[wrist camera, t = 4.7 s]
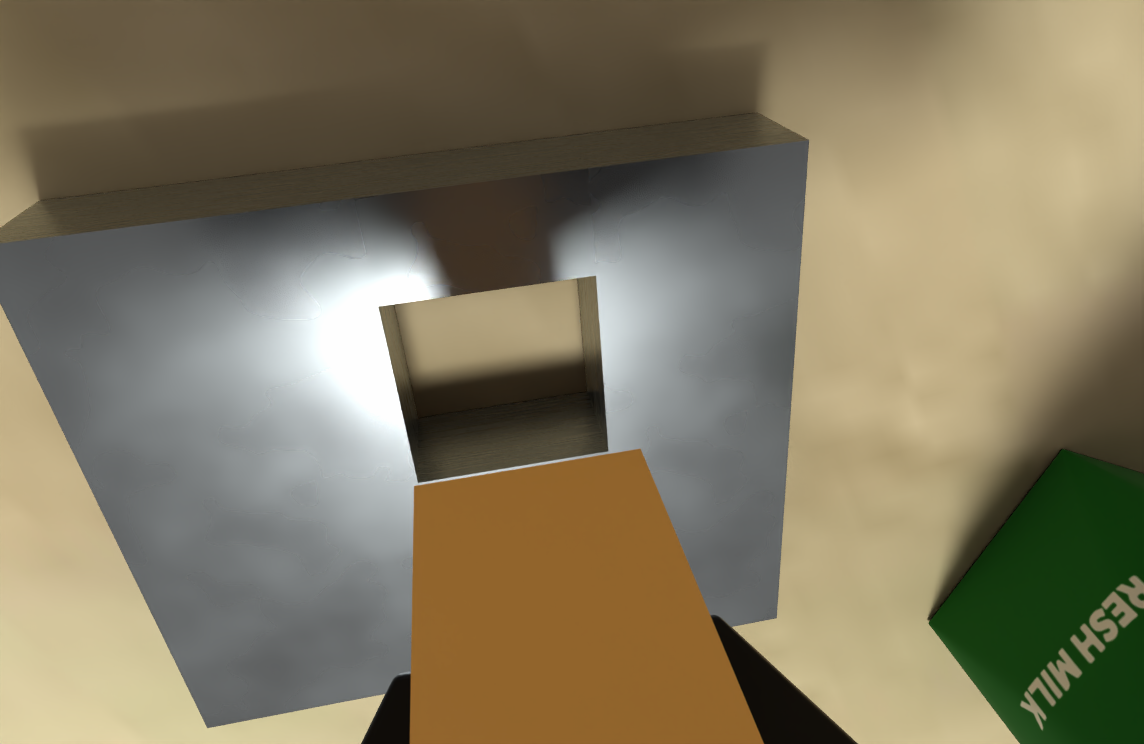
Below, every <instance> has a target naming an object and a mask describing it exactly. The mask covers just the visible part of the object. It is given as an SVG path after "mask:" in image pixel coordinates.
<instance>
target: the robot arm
mask: <svg viewBox="0 0 1144 744" xmlns="http://www.w3.org/2000/svg"><path fill="white" fill-rule="evenodd" d="M710 616H711V618H712V621H713V623H714V626H715V628H716V630H717V633H718V635H719V637H720V640H721V642H722V645H723V647H724V649H725V652H726V654H727V657H728V659H729V661H730V664H731V666H732V669H733V671H734V673H735V676H736V678H737V681H738V683H739V685H740V688H741V690H742V692H743V695H744V697H745V700H746V702H747V704H748V707H749V709H750V712H751V714H752V716H753V719H754V721H755V724H756V726H757V728H758V731H759V733H760V736H761V738H762V740H763V743H764V744H858V743H857V742H855V741H854V740H853V739H852V738H851V737H850V736H849V735H848V734H847V733H846V732H845V731H844V730H842V729H841V728H840V727H839V726H838V725H837V724H836V723H835V722H834V721H833V720H832V719H831V718H829V717H828V716H827V715H826V714H825V713H824V712H823V711H822V710H821V709H820V708H819V707H817V706H816V705H815V704H814V703H813V702H812V701H811V700H810V699H809V698H808V697H807V696H806V695H804V694H803V693H802V692H801V691H800V690H799V689H798V688H797V687H796V686H795V685H794V684H793V683H791V682H790V681H789V680H788V679H787V678H786V677H785V676H784V675H783V674H782V673H781V672H780V671H778V670H777V669H776V668H775V667H774V666H773V665H772V664H771V663H770V662H769V661H768V660H767V659H765V658H764V657H763V656H762V655H761V654H760V653H759V652H758V651H757V650H756V649H755V648H754V647H752V646H751V645H750V644H749V643H748V642H747V641H746V640H745V639H744V638H743V637H742V636H740V635H739V634H738V633H737V632H736V631H735V630H734V629H733V628H732V627H731V626H730V625H729V624H727V623H726V622H725V621H724V620H723V619H722V618H721V617H719V616H717V615H710ZM410 697H411V671H410V672H405V673H400V674H398V675H397V676H395V677H394V679H393V680H392V682H391V684H390V686H389V688H388V690H387V692H386V694H385V696H384V698H383V700H382V702H381V704H380V706H379V708H378V710H377V712H376V714H375V716H374V719H373V721H372V723H371V725H370V727H369V729H368V731H367V733H366V735H365V737H364V739H363V741H362V743H361V744H410Z"/></svg>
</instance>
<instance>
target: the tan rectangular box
mask: <svg viewBox="0 0 1144 744" xmlns="http://www.w3.org/2000/svg"><path fill="white" fill-rule="evenodd" d="M410 744H764V743H763V740H762V738H761V736H760V733H759V731H758V728H757V726H756V724H755V721H754V719H753V716H752V714H751V712H750V709H749V707H748V704H747V702H746V700H745V697H744V695H743V692H742V690H741V688H740V685H739V683H738V681H737V678H736V676H735V673H734V671H733V669H732V666H731V664H730V661H729V659H728V657H727V654H726V652H725V649H724V647H723V645H722V642H721V640H720V637H719V635H718V633H717V630H716V628H715V626H714V623H713V621H712V618H711V616H710V614H709V611H708V609H707V606H706V604H705V602H704V599H703V597H702V594H701V592H700V590H699V587H698V585H697V582H696V580H695V578H694V575H693V573H692V571H691V568H690V566H689V563H688V561H687V559H686V556H685V554H684V551H683V549H682V547H681V544H680V542H679V539H678V537H677V535H676V532H675V530H674V527H673V525H672V523H671V520H670V518H669V516H668V513H667V511H666V508H665V506H664V504H663V501H662V499H661V496H660V494H659V492H658V489H657V487H656V484H655V482H654V480H653V477H652V475H651V472H650V470H649V468H648V465H647V463H646V461H645V458H644V456H643V453H642V451H641V449H635V450H629V451H623V452H617V453H611V454H605V455H599V456H593V457H587V458H581V459H575V460H569V461H562V462H556V463H550V464H544V465H538V466H532V467H526V468H520V469H514V470H508V471H502V472H496V473H490V474H484V475H478V476H472V477H466V478H459V479H453V480H447V481H441V482H435V483H429V484H423V485H417V486H414V517H413V577H412V637H411V697H410Z"/></svg>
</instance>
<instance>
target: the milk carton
mask: <svg viewBox="0 0 1144 744" xmlns="http://www.w3.org/2000/svg"><path fill="white" fill-rule="evenodd" d="M929 625H930V626H931V627H932V629H933V630H934V631H935V633H936V634H937V635H938V636H939V638H940V639H941V640H942V642H943V643H944V644H945V646H946V647H947V648H948V650H949V651H950V652H951V654H952V655H953V656H954V658H955V659H956V660H957V661H958V663H959V664H960V665H961V667H962V668H963V669H964V671H965V672H966V673H967V675H968V676H969V677H970V679H971V680H972V681H973V683H974V684H975V685H976V687H977V688H978V689H979V690H980V692H981V693H982V694H983V696H984V697H985V698H986V700H987V701H988V702H989V704H990V705H991V706H992V708H993V709H994V710H995V711H996V713H997V714H998V715H999V717H1000V718H1001V719H1002V721H1003V722H1004V723H1005V725H1006V726H1007V727H1008V729H1009V730H1010V731H1011V733H1012V734H1013V735H1014V736H1015V738H1016V739H1017V740H1018V742H1019V743H1020V744H1144V474H1143V473H1140V472H1137V471H1133V470H1130V469H1127V468H1124V467H1120V466H1117V465H1114V464H1111V463H1107V462H1104V461H1101V460H1098V459H1094V458H1091V457H1088V456H1085V455H1081V454H1078V453H1075V452H1072V451H1069V450H1065V449H1062V450H1061V451H1060V453H1059V454H1058V455H1057V457H1056V458H1055V459H1054V460H1053V462H1052V463H1051V464H1050V466H1049V467H1048V468H1047V470H1046V471H1045V472H1044V473H1043V475H1042V476H1041V477H1040V479H1039V480H1038V481H1037V483H1036V484H1035V485H1034V486H1033V488H1032V489H1031V490H1030V492H1029V493H1028V494H1027V495H1026V497H1025V498H1024V499H1023V501H1022V502H1021V503H1020V505H1019V506H1018V507H1017V508H1016V510H1015V511H1014V512H1013V514H1012V515H1011V516H1010V518H1009V519H1008V520H1007V521H1006V523H1005V524H1004V525H1003V527H1002V528H1001V529H1000V531H999V532H998V533H997V534H996V536H995V537H994V538H993V540H992V541H991V542H990V544H989V545H988V546H987V547H986V549H985V550H984V551H983V553H982V554H981V555H980V557H979V558H978V559H977V560H976V562H975V563H974V564H973V566H972V567H971V568H970V570H969V571H968V572H967V574H966V575H965V576H964V577H963V579H962V580H961V581H960V583H959V584H958V585H957V587H956V588H955V589H954V590H953V592H952V593H951V594H950V596H949V597H948V598H947V600H946V601H945V602H944V603H943V605H942V606H941V607H940V609H939V610H938V611H937V613H936V614H935V615H934V616H933V618H932V619H931V620H930V621H929Z"/></svg>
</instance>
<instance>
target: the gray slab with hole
mask: <svg viewBox="0 0 1144 744" xmlns="http://www.w3.org/2000/svg"><path fill="white" fill-rule="evenodd" d="M808 147H809V140H808V139H806V138H804V137H802V136H800V135H798V134H797V133H795V132H793V131H791V130H789V129H787V128H785V127H783V126H782V125H780V124H778V123H776V122H774V121H772V120H770V119H768V118H767V117H765V116H763V115H761V114H759V113H749V114H741V115H733V116H725V117H717V118H708V119H700V120H692V121H684V122H676V123H668V124H660V125H652V126H643V127H635V128H627V129H619V130H611V131H603V132H595V133H587V134H578V135H570V136H562V137H554V138H546V139H538V140H530V141H522V142H514V143H505V144H497V145H489V146H481V147H473V148H465V149H457V150H449V151H440V152H432V153H424V154H416V155H408V156H400V157H392V158H384V159H375V160H367V161H359V162H351V163H343V164H335V165H327V166H319V167H311V168H302V169H294V170H286V171H278V172H270V173H262V174H254V175H246V176H237V177H229V178H221V179H213V180H205V181H197V182H189V183H181V184H172V185H164V186H156V187H148V188H140V189H132V190H124V191H116V192H107V193H99V194H91V195H83V196H75V197H67V198H59V199H51V200H43V201H38V202H36V203H35V204H34V205H32V206H31V207H29V208H28V209H26V210H25V211H24V212H22V213H21V214H19V215H18V216H16V217H15V218H14V219H12V220H11V221H9V222H8V223H6V224H5V225H4V226H2V227H1V228H0V304H1V306H2V308H3V310H4V312H5V314H6V316H7V318H8V320H9V322H10V324H11V326H12V328H13V330H14V332H15V334H16V336H17V339H18V341H19V343H20V345H21V347H22V349H23V351H24V353H25V355H26V357H27V359H28V361H29V363H30V365H31V367H32V369H33V371H34V373H35V375H36V377H37V380H38V382H39V384H40V386H41V388H42V390H43V392H44V394H45V396H46V398H47V400H48V402H49V404H50V406H51V408H52V410H53V412H54V414H55V416H56V418H57V421H58V423H59V425H60V427H61V429H62V431H63V433H64V435H65V437H66V439H67V441H68V443H69V445H70V447H71V449H72V451H73V453H74V455H75V457H76V459H77V462H78V464H79V466H80V468H81V470H82V472H83V474H84V476H85V478H86V480H87V482H88V484H89V486H90V488H91V490H92V492H93V494H94V496H95V498H96V500H97V503H98V505H99V507H100V509H101V511H102V513H103V515H104V517H105V519H106V521H107V523H108V525H109V527H110V529H111V531H112V533H113V535H114V537H115V539H116V542H117V544H118V546H119V548H120V550H121V552H122V554H123V556H124V558H125V560H126V562H127V564H128V566H129V568H130V570H131V572H132V574H133V576H134V578H135V580H136V583H137V585H138V587H139V589H140V591H141V593H142V595H143V597H144V599H145V601H146V603H147V605H148V607H149V609H150V611H151V613H152V615H153V617H154V619H155V621H156V624H157V626H158V628H159V630H160V632H161V634H162V636H163V638H164V640H165V642H166V644H167V646H168V648H169V650H170V652H171V654H172V656H173V658H174V660H175V662H176V665H177V667H178V669H179V671H180V673H181V675H182V677H183V679H184V681H185V683H186V685H187V687H188V689H189V691H190V693H191V695H192V697H193V699H194V701H195V703H196V706H197V708H198V710H199V712H200V714H201V716H202V718H203V720H204V722H205V724H206V726H207V728H211V727H216V726H221V725H226V724H231V723H236V722H242V721H247V720H252V719H257V718H262V717H267V716H273V715H278V714H283V713H288V712H293V711H298V710H304V709H309V708H314V707H319V706H324V705H330V704H335V703H340V702H345V701H350V700H355V699H361V698H366V697H371V696H376V695H381V694H386V692H387V690H388V688H389V686H390V684H391V682H392V680H393V679H394V677H395V676H397V675H398V674H400V673H405V672H410V671H411V637H412V577H413V517H414V486H417V485H423V484H429V483H435V482H441V481H447V480H453V479H459V478H466V477H472V476H478V475H484V474H490V473H496V472H502V471H508V470H514V469H520V468H526V467H532V466H538V465H544V464H550V463H556V462H562V461H569V460H575V459H581V458H587V457H593V456H599V455H605V454H611V453H617V452H623V451H629V450H635V449H641V451H642V453H643V456H644V458H645V461H646V463H647V465H648V468H649V470H650V472H651V475H652V477H653V480H654V482H655V484H656V487H657V489H658V492H659V494H660V496H661V499H662V501H663V504H664V506H665V508H666V511H667V513H668V516H669V518H670V520H671V523H672V525H673V527H674V530H675V532H676V535H677V537H678V539H679V542H680V544H681V547H682V549H683V551H684V554H685V556H686V559H687V561H688V563H689V566H690V568H691V571H692V573H693V575H694V578H695V580H696V582H697V585H698V587H699V590H700V592H701V594H702V597H703V599H704V602H705V604H706V606H707V609H708V611H709V614H710V615H717V616H719V617H721V618H722V619H723V620H724V621H725V622H726V623H727V624H729V625H730V626H731V627H733V626H738V625H743V624H749V623H754V622H759V621H764V620H769V619H774V618H777V604H778V590H779V575H780V560H781V545H782V531H783V516H784V501H785V486H786V472H787V457H788V442H789V427H790V413H791V398H792V383H793V368H794V354H795V339H796V324H797V309H798V295H799V280H800V265H801V250H802V235H803V221H804V206H805V191H806V176H807V162H808ZM575 278H577V279H578V291H579V303H580V315H581V327H582V339H583V350H584V362H585V374H586V386H587V392H582V393H575V394H569V395H563V396H556V397H550V398H544V399H537V400H531V401H525V402H518V403H512V404H506V405H499V406H493V407H487V408H480V409H474V410H468V411H461V412H455V413H449V414H442V415H436V416H430V417H423V418H418V415H417V410H416V405H415V401H414V396H413V391H412V387H411V382H410V377H409V373H408V368H407V363H406V359H405V354H404V349H403V345H402V340H401V335H400V331H399V326H398V321H397V317H396V312H395V307H394V304H399V303H406V302H413V301H420V300H427V299H434V298H442V297H449V296H456V295H463V294H470V293H477V292H484V291H491V290H498V289H505V288H512V287H519V286H526V285H533V284H540V283H547V282H554V281H561V280H568V279H575Z"/></svg>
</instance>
